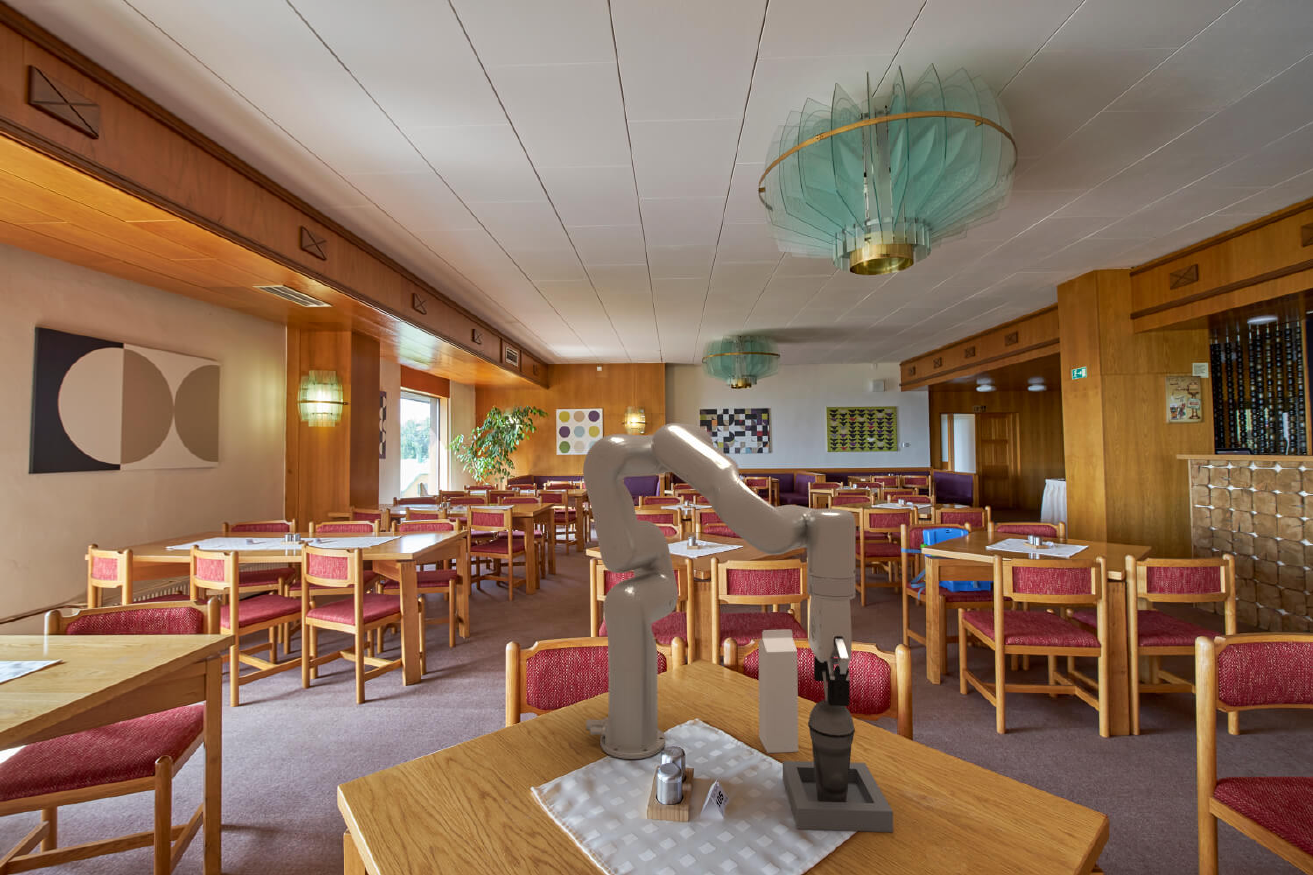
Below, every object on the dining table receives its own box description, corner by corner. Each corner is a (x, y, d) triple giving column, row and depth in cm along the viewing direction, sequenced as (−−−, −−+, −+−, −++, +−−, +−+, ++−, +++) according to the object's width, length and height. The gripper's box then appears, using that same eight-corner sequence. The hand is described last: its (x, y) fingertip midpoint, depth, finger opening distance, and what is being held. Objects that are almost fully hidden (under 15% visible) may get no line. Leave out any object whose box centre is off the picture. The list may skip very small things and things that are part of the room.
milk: (798, 752, 112) (798, 634, 113) (766, 753, 112) (766, 635, 112) (788, 736, 118) (788, 625, 119) (758, 738, 118) (758, 625, 118)
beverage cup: (845, 818, 91) (845, 685, 91) (800, 801, 95) (800, 674, 96) (861, 796, 96) (861, 671, 97) (818, 781, 101) (818, 662, 101)
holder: (797, 828, 89) (797, 808, 89) (782, 778, 103) (782, 760, 103) (893, 832, 88) (892, 811, 88) (865, 780, 102) (864, 762, 102)
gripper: (797, 574, 106) (797, 671, 105) (819, 598, 88) (819, 715, 88) (840, 575, 105) (840, 673, 105) (870, 599, 88) (870, 716, 88)
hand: (830, 692), depth 96 cm, fingers open, 9 cm apart
